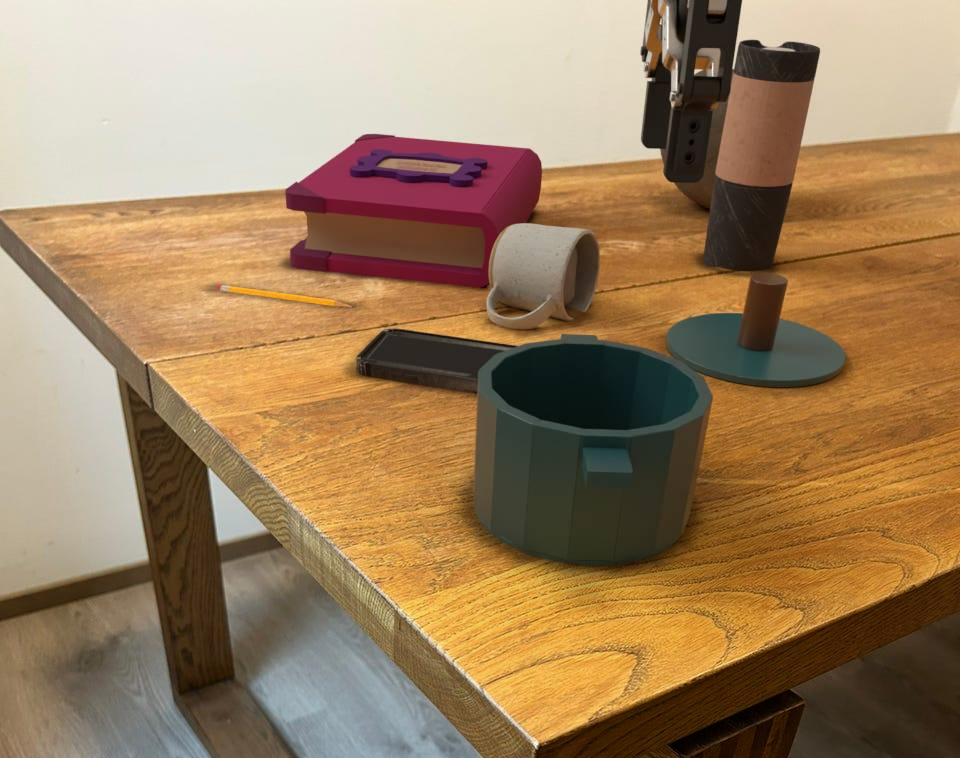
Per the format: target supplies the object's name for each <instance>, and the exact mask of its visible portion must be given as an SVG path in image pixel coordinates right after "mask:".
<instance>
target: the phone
mask: <svg viewBox="0 0 960 758" xmlns="http://www.w3.org/2000/svg"><path fill="white" fill-rule="evenodd" d="M517 346H518V345H515V344H507V343H502V342H500V343H499V342H494V341H488V340H480V339H474V338H473V339H472V338H467V337H460V336H453V335H445V334H438V333H433V332H432V333H431V332H424V331H418V330H417V331H416V330H410V329H404V328H395V327H394V328H386V329H382V330H381V331H380V332H379V333H378V334H377V335H376V336H375V337H374V338H373V339H372V340H371V341H370V342H369V343H368V344H367V345H366V346H365V347H364V348H363V349H362V350H361V351H360V352H359V353H358V354H357V355H356V357H355V358H356V360H355V361H356V373H358V374H359V375H360V376H362V377H369V378H376V379H380V380H381V379H382V380H389V381H395V382H399V383H408V384H414V385H420V386H425V387H432V388H433V387H434V388H440V389H446V390H453V391H459V392H467V393H473V394H477V389H478V371H479V370H480V369H481V368H482V367H483V366H484V365H485V364H486V363H487V362H488V361H489V360H490V359H491V358H492V357H493V356H494V355H496V354H498V353H501V352H503V351H506V350H509V349H512V348H514V347H517Z"/></svg>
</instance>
